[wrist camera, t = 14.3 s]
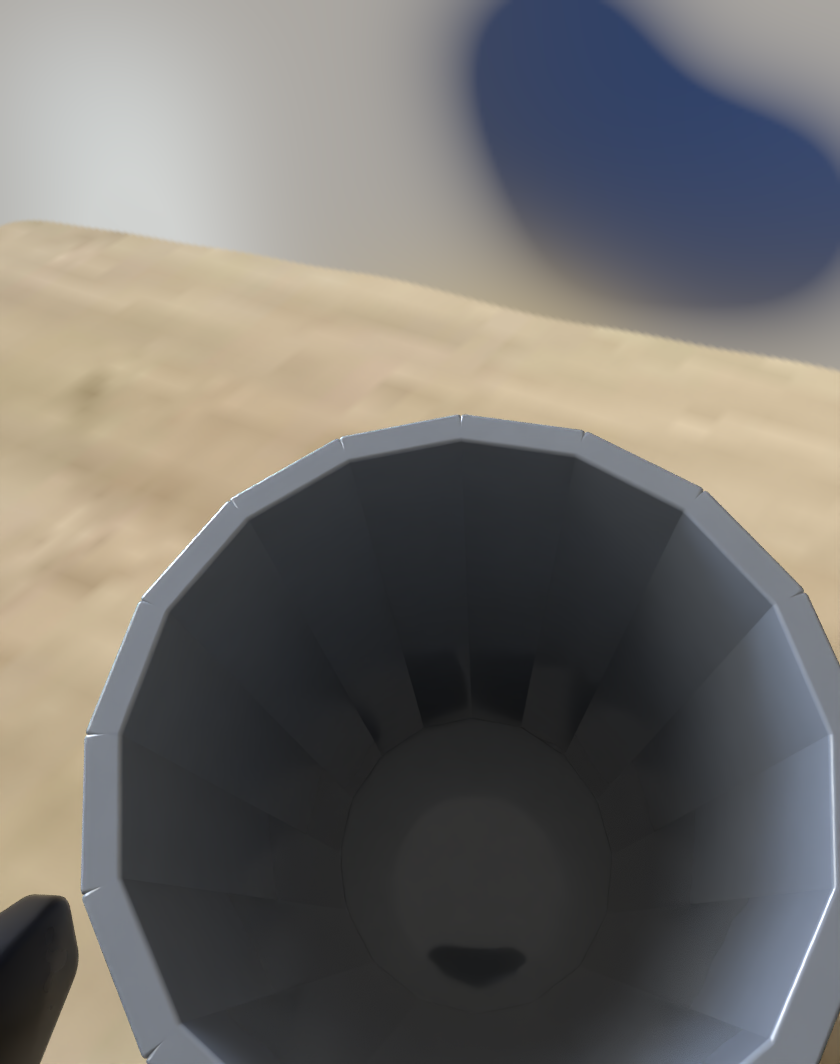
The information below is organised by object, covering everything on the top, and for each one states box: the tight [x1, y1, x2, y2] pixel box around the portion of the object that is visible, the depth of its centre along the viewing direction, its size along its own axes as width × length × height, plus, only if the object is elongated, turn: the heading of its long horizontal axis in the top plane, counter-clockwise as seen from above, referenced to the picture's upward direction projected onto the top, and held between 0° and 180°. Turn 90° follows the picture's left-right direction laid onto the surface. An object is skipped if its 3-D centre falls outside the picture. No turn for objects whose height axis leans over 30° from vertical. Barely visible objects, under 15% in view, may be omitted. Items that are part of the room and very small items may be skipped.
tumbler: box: [81, 415, 840, 1064], centre depth 12 cm, size 7×7×12 cm
